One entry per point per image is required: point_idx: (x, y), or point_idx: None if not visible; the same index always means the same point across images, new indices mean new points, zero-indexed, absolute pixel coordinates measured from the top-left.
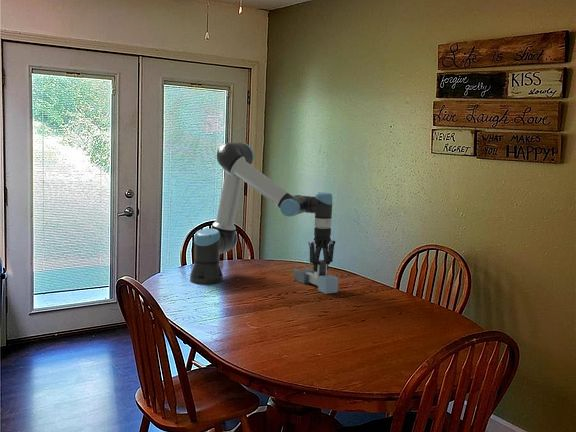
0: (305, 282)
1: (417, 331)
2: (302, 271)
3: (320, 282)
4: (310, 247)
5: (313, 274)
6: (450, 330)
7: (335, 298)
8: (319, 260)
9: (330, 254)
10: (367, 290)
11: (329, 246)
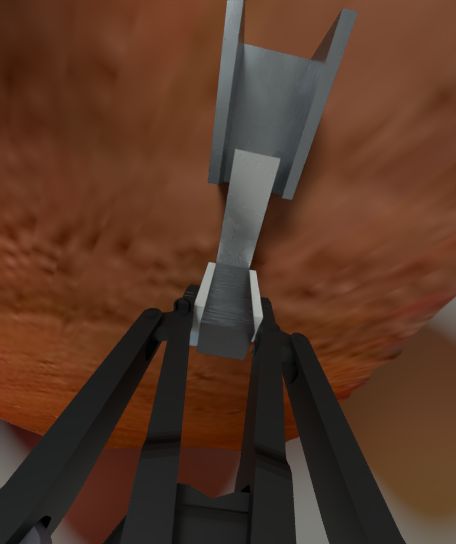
0: (223, 181)
1: (196, 434)
2: (214, 149)
3: None
4: (23, 481)
5: (249, 216)
6: (230, 444)
7: None
8: (217, 334)
9: (295, 406)
10: (323, 339)
11: (345, 508)
